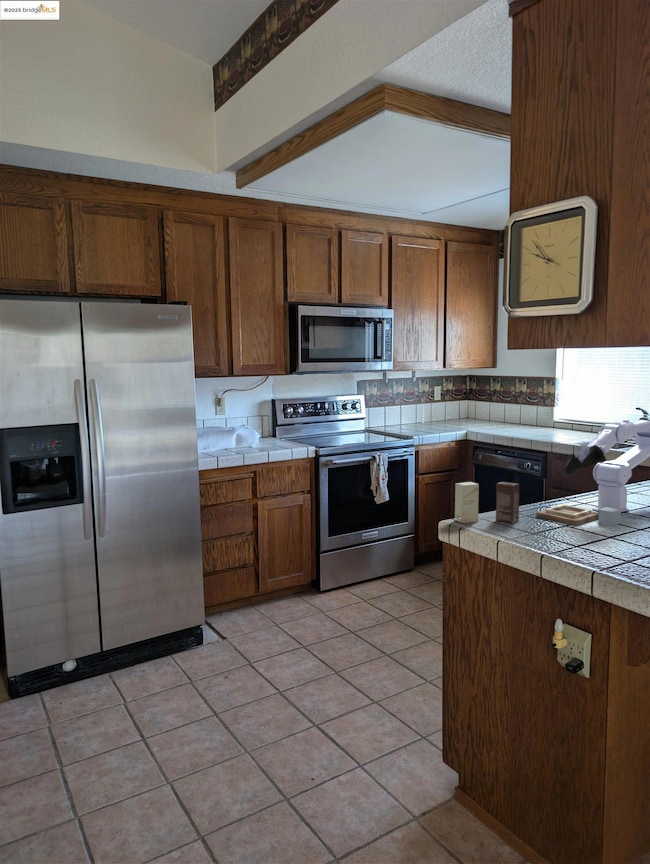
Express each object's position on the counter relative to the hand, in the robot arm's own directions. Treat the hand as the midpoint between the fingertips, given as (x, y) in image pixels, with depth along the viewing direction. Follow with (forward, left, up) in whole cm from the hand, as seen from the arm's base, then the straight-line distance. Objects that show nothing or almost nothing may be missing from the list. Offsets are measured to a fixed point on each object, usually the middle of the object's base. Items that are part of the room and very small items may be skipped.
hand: (575, 468), depth 190 cm
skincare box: (+26, -21, -17) cm, 37 cm away
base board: (-2, -3, -17) cm, 17 cm away
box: (+16, -13, -17) cm, 27 cm away
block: (-5, +9, -17) cm, 20 cm away
